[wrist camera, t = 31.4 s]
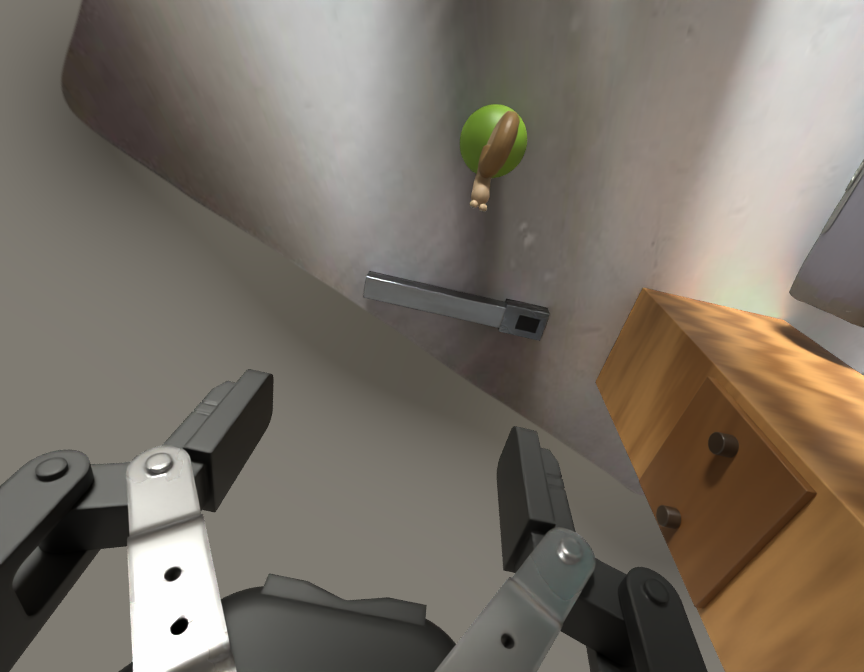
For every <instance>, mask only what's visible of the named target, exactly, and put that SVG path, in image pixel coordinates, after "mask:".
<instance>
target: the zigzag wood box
mask: <svg viewBox="0 0 864 672" xmlns="http://www.w3.org/2000/svg"><path fill="white" fill-rule="evenodd" d="M596 385H597V387H598V389H599V391H600V393H601V396H602V398H603V400H604V402H605V405H606V407H607V409H608V411H609V414H610V416H611V418H612V420H613V422H614V425H615V427H616V429H617V431H618V434H619V436H620V438H621V440H622V443H623V445H624V447H625V449H626V452H627V454H628V456H629V458H630V460H631V463H632V465H633V467H634V469H635V472H636V474H637V476H638V478H639V483H640V485H641V487H642V489H643V492H644V494H645V496H646V498H647V500H648V503H649V505H650V507H651V509H652V512H653V514H654V516H655V519H656V521H657V523H658V525H659V528H660V530H661V532H662V534H663V537H664V539H665V541H666V543H667V546H668V548H669V550H670V552H671V555H672V557H673V559H674V561H675V563H676V566H677V568H678V570H679V573H680V575H681V577H682V579H683V582H684V584H685V586H686V588H687V591H688V593H689V595H690V597H691V599H692V602H693V604H694V606H695V607H696V608H697V610H698V612H699V615H700V617H701V619H702V621H703V624H704V626H705V628H706V630H707V632H708V635H709V637H710V639H711V642H712V644H713V646H714V648H715V650H716V653H717V655H718V657H719V659H720V662H721V664H722V666H723V668H724V671H725V672H864V376H863V375H862V374H860V373H859V372H857V371H856V370H854V369H853V368H852V367H850V366H849V365H847V364H846V363H844V362H843V361H842V360H840V359H839V358H837V357H836V356H834V355H833V354H832V353H830V352H829V351H827V350H826V349H824V348H823V347H822V346H820V345H819V344H817V343H816V342H814V341H813V340H812V339H810V338H809V337H807V336H806V335H804V334H803V333H801V332H800V331H799V330H797V329H796V328H794V327H793V326H791V325H790V324H789V323H787V322H786V321H784V320H781V319H776V318H772V317H768V316H763V315H759V314H755V313H750V312H746V311H742V310H738V309H733V308H729V307H725V306H720V305H716V304H712V303H707V302H703V301H699V300H694V299H690V298H686V297H682V296H677V295H673V294H669V293H664V292H660V291H656V290H651V289H647V288H642V290H641V292H640V294H639V296H638V298H637V300H636V302H635V304H634V306H633V308H632V310H631V312H630V314H629V316H628V318H627V320H626V322H625V324H624V326H623V328H622V330H621V332H620V334H619V336H618V338H617V340H616V342H615V344H614V346H613V348H612V350H611V352H610V354H609V356H608V358H607V360H606V362H605V364H604V366H603V368H602V370H601V372H600V374H599V376H598V378H597V380H596Z"/></svg>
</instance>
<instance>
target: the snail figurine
mask: <svg viewBox="0 0 864 672" xmlns="http://www.w3.org/2000/svg"><path fill="white" fill-rule="evenodd" d="M526 146H527V132H526V128H525V125H524V123H523V121H522V119H521V118H520V116H519V115H518V114H517V113H516V112H515V111H514V110H512V109H510V108H509V107H506V106H503V105H488V106H484V107H482V108H480V109H478V110H477V111H475V112H474V113H473V114H472V115H471V116H470V117H469V118H468V120H467V121H466V123H465V124H464V126H463V129H462V132H461V136H460V151H461V155H462V158H463V160H464V162H465V163H466V165H467V166H468V167H469V169H471V170H472V171H473V172H474V173H476V178H475V180H474V184H473V191H472V194H471V200H472V201H471V202H470V206H471V207H472V208H476V207H477V206H479V210H480V211H482V212H485V211H486V210H487V206H486V205H485V204H486V203H487V201H488V200H489V196H490V192H489V190H490V181H491V178H496V177H501V176H503V175H506V174H508V173H509V172H511V171H512V170H513V169H514V168H515V167H516V166H517V165H518V164H519V163H520V161H521V160H522V158H523V156H524V153H525V150H526Z"/></svg>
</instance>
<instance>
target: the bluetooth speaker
mask: <svg viewBox="0 0 864 672" xmlns="http://www.w3.org/2000/svg"><path fill="white" fill-rule="evenodd" d="M845 191H846V192H845V194H844V195H843V197H842V199H841V200H840V202H839V203H838V205H837V207H836V208H835V210H834V212H833V213H832V215H831V217H830V218H829V220H828V222H827V223H826V225H825V226H824V228H823V230H822V232H821V234H820V236H819V237H818V239H817V241H816V243H815V244H814V246H813V248H812V249H811V251H810V253H809V254H808V256H807V258H806V260H805V261H804V263H803V265H802V267H801V269H800V270H799V272H798V274H797V276H796V279H795V281H794V283H793V285H792V287H791V289H790V294H791V296H793V297H794V298H795V299H797V300H799V301H801V302H804V303H807V304H810V305H812V306H814V307H816V308H819V309H821V310H823V311H826V312H828V313H830V314H833V315H835V316H837V317H839V318H841V319H843V320H846V321H848V322H850V323H852V324H855V325H857V326H860V327H864V160H863V161H862V163H861V165H860V166H859V168H858V169H857V171H856V173H855V174H854V176H853V178H852V179H851V181H850V183H849V184H848V186H847V188H846V190H845Z"/></svg>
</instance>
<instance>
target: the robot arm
mask: <svg viewBox="0 0 864 672" xmlns="http://www.w3.org/2000/svg"><path fill="white" fill-rule="evenodd" d="M272 411H273V375H272V374H269V373H265V372H260V371H256V370H251V369H248V370H246V372H245V373H244V374H243V375H242V376H241V377H240V379H239V380H238V381H237V382H236V383H235V382H231V381H226V382H224V383H223V384H221V385H219V386H217V387H215V388H213V389H212V390H211V391H210V392H209V393H208V395H207V396H206V397H205V398H204V399H203V400H202V403H200V404H199V405H198V406H197V407H196V408H195V409H194V412H191V414H190V415H189V416H188V417H187V418H186V419H185V420H184V421H183V423H182V424H181V425H180V426H179V427H178V428H177V429H176V430H175V431H174V433H173V434H172V435H171V436H170V437H169V438H168V439H167V440H166V442H165V443H164V444H163V445H162V446H159V447H154V448H151V449H149V450H146V451H144V452H142V453H140V454H139V455H137V456H136V457H135V458H134V459H133V460H132V461H131V462H125V463H111V464H92V465H91V464H90V461H89V458H88V457H87V455H86V454H84V453H82V452H80V451H76V450H58V451H53V452H49V453H46V454H43V455H41V456H38V457H36V458H34V459H32V460H31V461H29V462H27V463H26V464H25V465H24V466H22V467H21V468H20V469H19V470H18V471H17V472H15V473H14V474H13V475H12V476H11V477H10V478H9V479H8V480H7V481H5V482H4V483H3V484H2V485H1V486H0V672H9V671H10V670H11V668H12V667H13V666H14V664H15V663H16V662H17V660H18V659H19V658H20V656H21V655H22V654H23V652H24V651H25V650H26V648H27V647H28V646H29V644H30V643H31V642H32V640H33V639H34V638H35V636H36V635H37V634H38V632H39V631H40V630H41V628H42V627H43V626H44V624H45V623H46V622H47V620H48V619H49V618H50V616H51V615H52V614H53V612H54V611H55V609H56V608H57V607H58V605H59V604H60V603H61V601H62V600H63V599H64V597H65V596H66V595H67V593H68V592H69V591H70V589H71V588H72V587H73V585H74V584H75V583H76V581H77V580H78V579H79V577H80V576H81V574H82V573H83V572H84V571H85V569H86V568H87V567H88V565H89V564H90V563H91V561H92V560H93V559H94V557H95V556H96V554H97V553H98V552H99V551H100V549H104V548H114V547H123V546H127V554H128V573H129V593H130V613H131V632H132V652H133V662H131V663H130V664H129V665H127V666H126V667H124V668H123V669H122V670H120V671H119V672H537V670H538V669H539V667H540V665H541V663H542V662H543V660H544V658H545V656H546V655H547V653H548V651H549V650H550V648H551V646H552V644H553V643H554V641H555V639H556V637H557V636H558V634H559V632H560V631H561V632H563V633H565V634H567V635H569V636H570V637H572V638H574V639H575V640H577V641H579V642H581V643H582V644H584V645H586V648H587V654H588V659H589V665H590V672H707V669H706V666H705V664H704V661H703V658H702V655H701V653H700V650H699V648H698V645H697V642H696V639H695V637H694V634H693V631H692V628H691V626H690V623H689V621H688V618H687V615H686V613H685V610H684V607H683V604H682V601H681V599H680V597H679V595H678V593H677V592H676V590H675V589H674V588H673V586H672V585H671V584H670V583H669V582H668V581H667V580H666V579H665V578H664V577H662V576H661V575H660V574H658V573H657V572H655V571H653V570H651V569H648V568H644V567H635V568H633V569H631V570H630V571H629V572H628V574H624V573H623V572H621V571H619V570H617V569H615V568H613V567H611V566H609V565H607V564H605V563H603V562H601V561H600V560H598V559H596V558H595V556H594V553H593V551H592V549H591V547H590V546H589V544H588V543H587V542H586V541H585V540H584V539H583V538H582V537H581V536H580V535H578V534H577V533H576V532H575V528H574V524H573V520H572V516H571V512H570V508H569V504H568V500H567V496H566V492H565V490H564V483H563V480H562V479H561V477H562V475H561V472H560V467H559V464H558V462H557V460H556V459H555V457H554V456H553V454H552V453H551V451H550V450H548V449H543V448H540V443H539V438H538V434H537V432H536V431H534V430H530V429H525V428H521V427H515V426H514V427H513V428H512V429H511V431H510V434H509V436H508V439H507V441H506V444H505V446H504V449H503V451H502V454H501V456H500V459H499V462H498V468H497V488H498V501H499V516H500V529H501V543H502V557H503V570H505V571H509V572H514V573H515V575H514V576H513V577H512V578H511V577H509V578H508V579H507V580H506V582H505V583H504V584H503V585H502V587H501V588H500V589H499V590H498V592H497V593H496V594H495V596H494V597H493V598H492V599H491V601H490V602H489V603H488V605H487V606H486V607H485V609H484V610H483V611H482V612H481V613H480V615H479V616H478V617H477V618H476V620H475V621H474V622H473V624H472V625H471V626H470V627H469V629H468V630H467V631H466V632H465V634H464V635H463V636H462V637H461V639H460V640H459V641H458V643H457V644H455V642H454V641H453V640H452V639H451V638H450V637H449V636H448V635H447V634H446V633H445V632H444V631H443V630H442V629H441V628H440V627H438V626H437V625H435V624H434V623H432V622H431V621H429V620H427V619H425V617H426V605H423V604H418V603H413V602H408V601H403V600H398V599H393V598H375V599H361V600H344V599H341V598H339V597H337V596H335V595H334V594H332V593H330V592H328V591H326V590H324V589H322V588H320V587H318V586H316V585H314V584H312V583H310V582H308V581H304V580H299V579H294V578H289V577H284V576H279V575H274V574H269V575H268V577H267V580H266V582H265V585H264V586H262V587H254V588H249V589H245V590H242V591H239V592H236V593H233V594H231V595H229V596H227V597H224V598H223V599H220V594H219V590H218V584H217V579H216V575H215V570H214V565H213V560H212V555H211V550H210V545H209V540H208V535H207V531H206V526H205V521H204V517H203V514H201V510H206V511H211V512H216V510H217V509H218V507H219V506H220V504H221V502H222V500H223V499H224V497H225V496H226V494H227V493H228V491H229V489H230V488H231V486H232V484H233V483H234V481H235V480H236V478H237V476H238V475H239V473H240V471H241V470H242V468H243V467H244V465H245V463H246V462H247V460H248V459H249V457H250V455H251V454H252V452H253V451H254V449H255V447H256V446H257V444H258V442H259V441H260V439H261V437H262V436H263V434H264V433H265V431H266V429H267V427H268V425H269V423H270V420H271V416H272Z"/></svg>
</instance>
